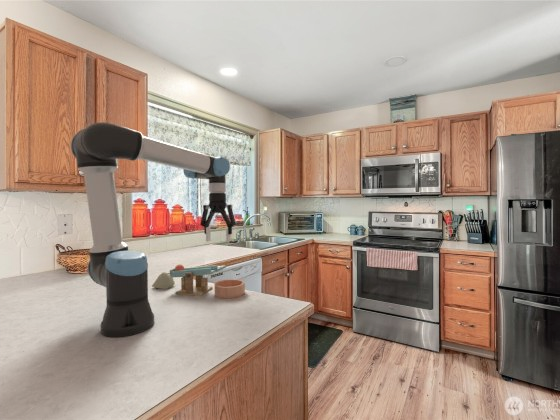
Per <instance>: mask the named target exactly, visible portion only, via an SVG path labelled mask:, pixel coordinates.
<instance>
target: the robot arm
mask: <svg viewBox="0 0 560 420" xmlns="http://www.w3.org/2000/svg"><path fill="white" fill-rule="evenodd" d="M70 150H71V153H72V156H73V157H74V158H75V159H76V166H77V170H78V171H80V172H81V173H82V174H83V175H84V184H85V190H86V191H85V192H86V199H87V204H88V206H87V207H88V212H89V213H88V214H89V219H90V229H91V236H92V243H93V245H92V247H91V248H90V249H89V250H88V254H89V261H88V264H87V273H88V275H89V277H90V279H92V281H93V282H94V283H95V284H98V285H99V286H101V287H102V286H103V287H105V289H106V290H105V291H106V292H105V293H106V294H105V295H106V307H105V310H104V313H103V317H102V321H101V322H100V334H101V335H102V336H104V337H108V338H120V337H121V338H122V337H128V336H132V335H136V334H139V333H142V332H145V331H147V330H149V329H150V328H152V326H153V325H154V324H155V314H154V312H153V311H152V308H151V303H150V302H149V283H148V281H149V279H148V277H149V276H148V271H149V270H148V268H149V264H148V258H147V255H146V254H145V253H143V252H141V251H137V250H134V251H133V250H129V246H128V244H127V243H126V242H124V241H123V237H122V229H121V219H120V214H119V213H120V212H119V205H118V196H117V189H116V182H115V181H116V180H115V172H116V171H117V170H118V169H119V164H118V160H128V161H132V162H135V161H137V160H142V161H147V162H150V163H156V164H160V165H165V166H169V167H173V168H177V169H180V170H181V169H182V170H183V175H184V177H185V178H188V179H200V180H201V179H202V180H208V192H209V194H208V199H209V200H208V201H209V203H208V204H203V205H202V208H203V210H202V215H201V220H200V224H199V225H200V226H201V227H204V231H203V232H204V235H205V241H206V242H208V243H209V242H211V226H210V224H211V222H212V220H213V218H214V216H215V214H220V215H221V216H222V218H223V220H224V222H225V224H226V226H227V227H225V237H226V239H225V242H226V243H229V242H231V235H233V227H235V226H236V225H237V224H236V220H235V215H234V211H233V204H227V203H226V201H227V194H226V193H225V192H226V191H227V189H226V187H227V185H226V183H227V182H226V178H227V177H226V176H227V175H228V173H229V172H230V169H231V164H230V161H229V160H228V158H227V157H224V156H212V155H209V154H208V155H207V154H204V153H201V152H198V151H194V150H191V149H187V148H184V147H180V146H177V145H175V144H171V143H167V142H164V141H161V140H156V139H154V138H152V137H151V138H150V137H147V136H145V135H143V134H142V132H141V131H138V130H134V129H131V128H129V127H125V126H123V125H122V126H121V125H118V124H115V123H110V122H103V121H102V122H95V123H92V124H90V125H88V126H86V127H85V128H83V129H81V130H79V131H77V132H76V133H75V134H74V136H73V138H72V140H71V142H70ZM209 209H210V210H209ZM226 209H227V211H226ZM208 212H209V213H208ZM227 213H228V214H227Z"/></svg>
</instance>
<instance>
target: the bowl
mask: <svg viewBox="0 0 560 420" xmlns="http://www.w3.org/2000/svg"><path fill="white" fill-rule="evenodd" d="M213 285H214V286H213V287H214V296H215V297H217V298H220V299H235V298H239V297H242V296H243V295H244V294H245V291H246V290H245V289H246V285H245V281H244V280H241V279H235V278H234V279H230V278H229V279H222V280H219V281H217V282H215V283H214V284H213Z"/></svg>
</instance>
